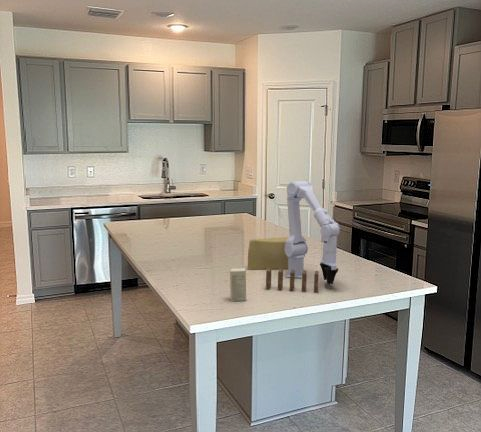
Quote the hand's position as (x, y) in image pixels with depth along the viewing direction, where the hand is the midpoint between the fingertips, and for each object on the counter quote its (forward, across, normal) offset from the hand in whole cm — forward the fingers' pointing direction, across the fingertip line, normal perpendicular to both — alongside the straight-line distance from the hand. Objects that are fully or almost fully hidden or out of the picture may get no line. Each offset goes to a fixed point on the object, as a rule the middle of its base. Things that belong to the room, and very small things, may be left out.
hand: (328, 281), depth 208 cm
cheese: (+2, -31, -20) cm, 37 cm away
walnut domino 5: (+2, +5, -7) cm, 9 cm away
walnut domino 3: (+2, +2, -16) cm, 17 cm away
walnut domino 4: (+2, +4, -12) cm, 12 cm away
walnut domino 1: (+2, -1, -26) cm, 26 cm away
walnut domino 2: (+2, +1, -21) cm, 21 cm away
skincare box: (+2, +13, -40) cm, 43 cm away
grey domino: (+2, 0, 0) cm, 2 cm away
